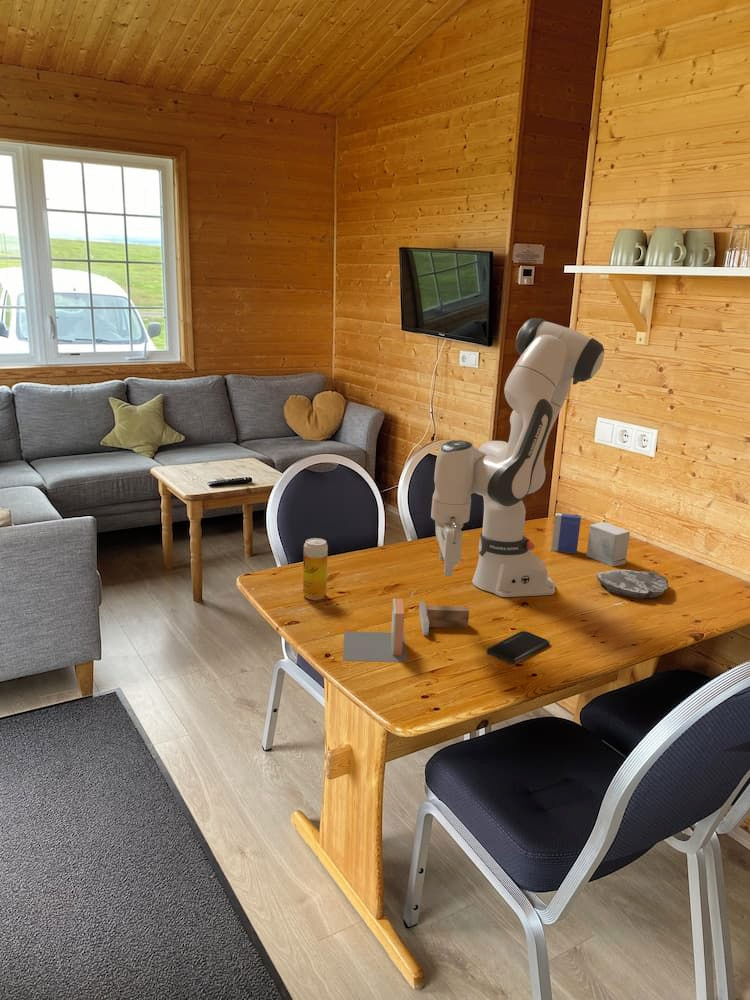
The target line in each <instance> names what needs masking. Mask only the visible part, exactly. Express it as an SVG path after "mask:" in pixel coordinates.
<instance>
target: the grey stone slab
mask: <svg viewBox="0 0 750 1000" xmlns="http://www.w3.org/2000/svg"><path fill="white" fill-rule="evenodd" d="M595 575H596V576H595V577H596V579H597V581H598V582H599V583H600V584H601V585H602V586H604V587H605V589H607V592H610V593H612V594H615V595H621V596H625V597H628V598H630V597H631V598H634V599H645V598H647V599H654V598H657V597H660V596H661V595H663V594H664V592H666V591H667V590H668V589H669V587H668V586H669V580H668V578H667V577H665V576H663V575H661V574H659V573H657V572H654V571H645V570H644V571H637V570H631V569H612V570H609V571H605V572H604V571H603V572H597V573H596V574H595Z"/></svg>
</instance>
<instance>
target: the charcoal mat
mask: <svg viewBox="0 0 750 1000" xmlns="http://www.w3.org/2000/svg"><path fill="white" fill-rule="evenodd" d="M405 638H406V637H405V633H404V632H403V644H402V655H392V646H391V632H378V631H375V632H374V631H346V630H345V631H343V647H342V648H343V649H342V650H343V652H342V654H343V655H342V661H346V662H348V661H350V662H381V663H384V662H385V663H408V654H407V646H406V639H405Z"/></svg>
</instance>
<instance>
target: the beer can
mask: <svg viewBox="0 0 750 1000" xmlns="http://www.w3.org/2000/svg"><path fill="white" fill-rule="evenodd" d="M328 548H329V546H328V542H327V540H326V539H323V538H321V537H319V538H318V537H311V538H308V539H306V540H305V543H304V544H303V567H302V569H303V570H302V571H303V574H302V576H303V577H302V580H303V581H302V582H303V583H302V595H303V596H304V597H305V598H306V599H307V598H308V600H310V599H311V601H319V600H322V599H324V598H325V596H326V595H327V590H328V589H327V585H328V556H329V555H328V551H329V549H328Z"/></svg>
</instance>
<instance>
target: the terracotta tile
mask: <svg viewBox="0 0 750 1000" xmlns="http://www.w3.org/2000/svg"><path fill="white" fill-rule="evenodd" d="M391 610H392V611H391V612H392V613H391V629H390V631H391V632H390V633H391V646H392V655H402V644H403V633H404V628H405V627H404V624H405V607H404V602H403V598H392V609H391Z"/></svg>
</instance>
